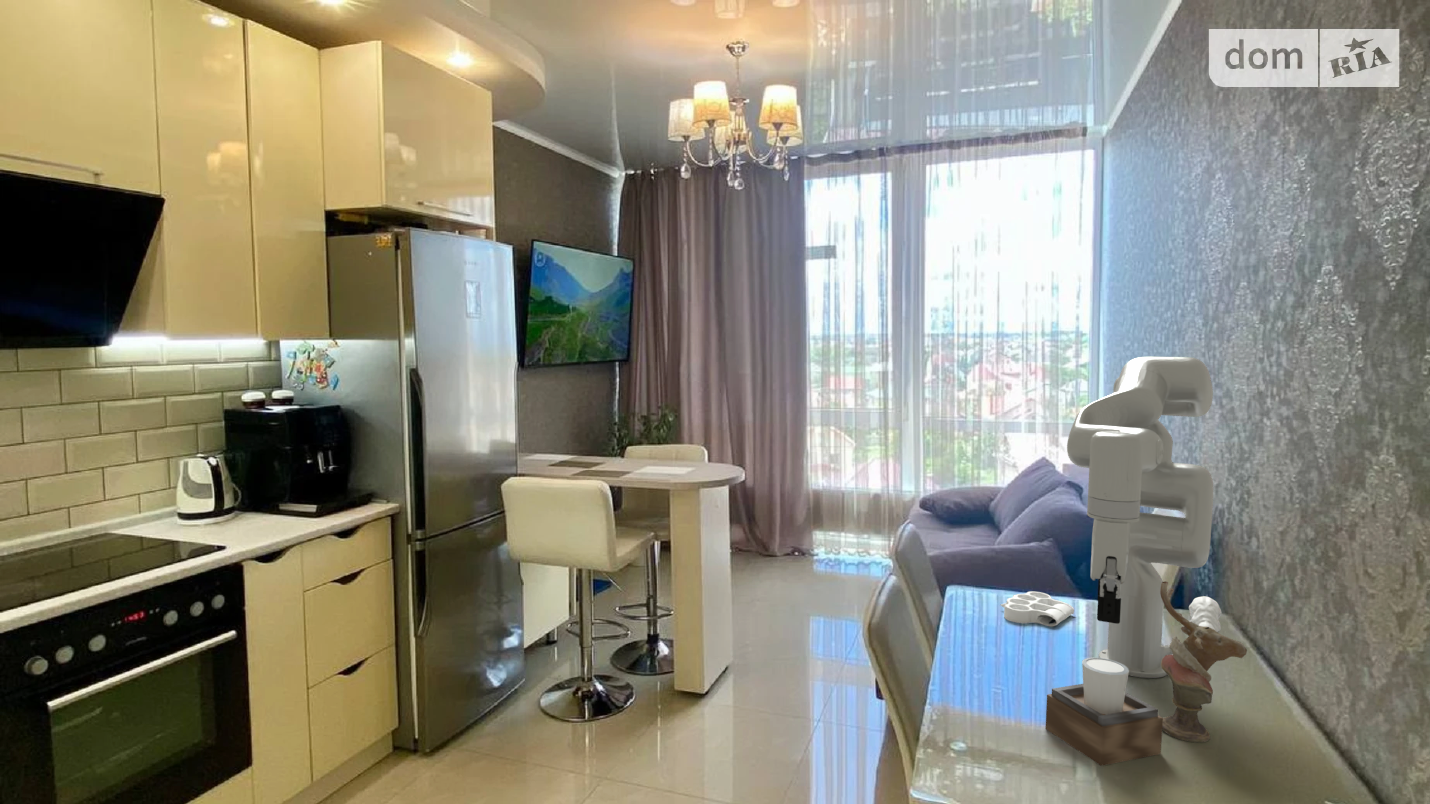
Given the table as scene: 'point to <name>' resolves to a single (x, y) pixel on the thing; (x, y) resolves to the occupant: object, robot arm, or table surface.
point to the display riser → (1104, 726)
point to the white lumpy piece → (1205, 613)
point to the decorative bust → (1193, 672)
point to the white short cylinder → (1104, 684)
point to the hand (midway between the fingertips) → (1108, 611)
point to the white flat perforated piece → (1036, 609)
